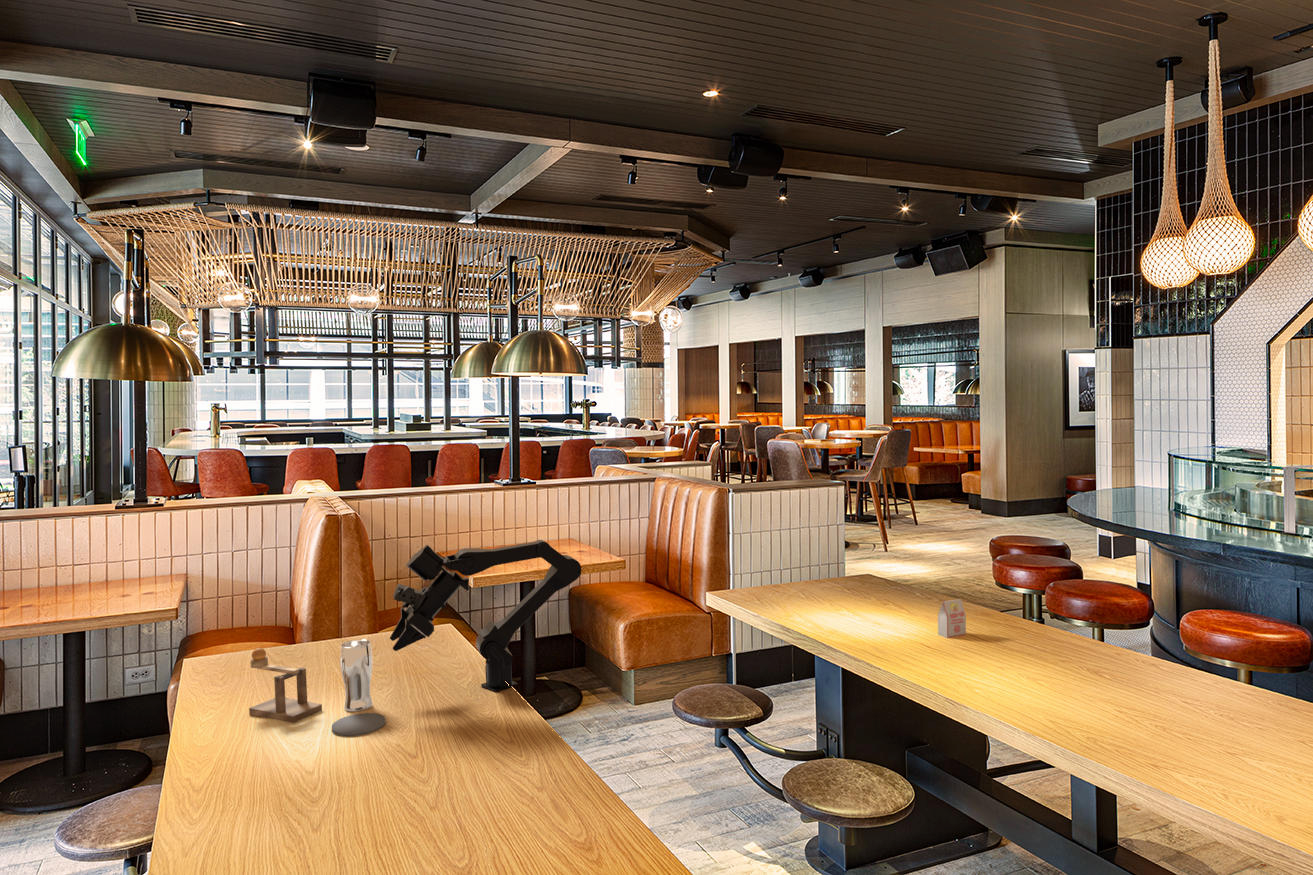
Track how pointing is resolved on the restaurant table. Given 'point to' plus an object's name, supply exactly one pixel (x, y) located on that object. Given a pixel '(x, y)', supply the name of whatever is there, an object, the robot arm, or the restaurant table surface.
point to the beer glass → (356, 674)
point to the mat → (358, 724)
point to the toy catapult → (283, 693)
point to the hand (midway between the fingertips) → (392, 644)
